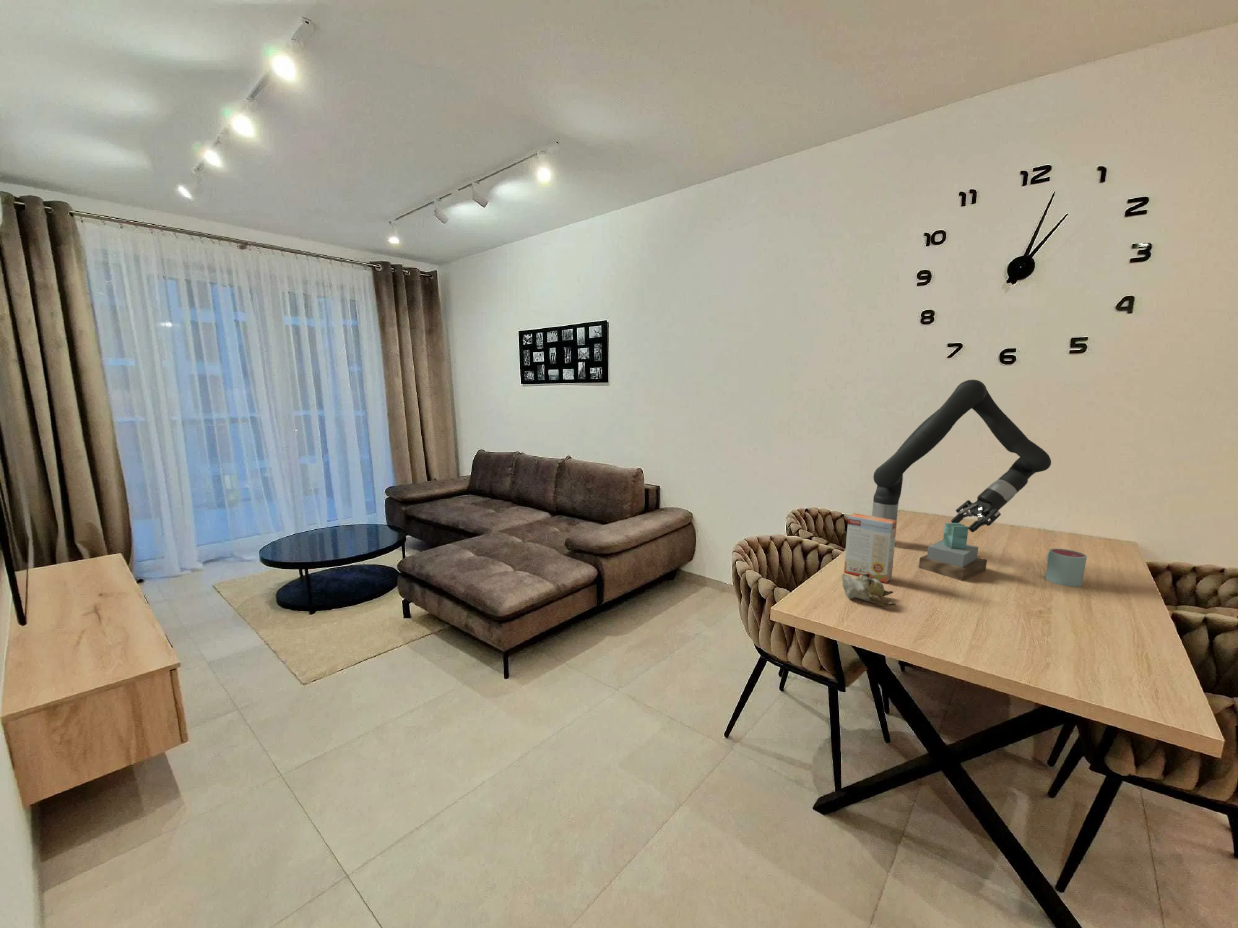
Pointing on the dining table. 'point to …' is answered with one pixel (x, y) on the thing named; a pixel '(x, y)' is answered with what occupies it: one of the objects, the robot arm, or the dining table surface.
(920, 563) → the tower base slab
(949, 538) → the teal pillar
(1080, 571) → the mug
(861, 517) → the cracker box
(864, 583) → the ceramic sculpture
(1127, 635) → the dining table surface
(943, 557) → the tower top slab
